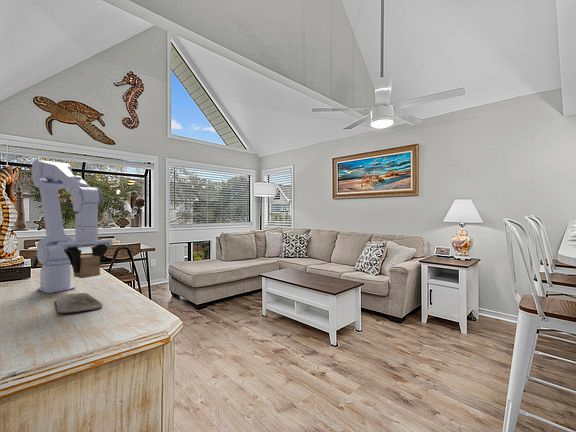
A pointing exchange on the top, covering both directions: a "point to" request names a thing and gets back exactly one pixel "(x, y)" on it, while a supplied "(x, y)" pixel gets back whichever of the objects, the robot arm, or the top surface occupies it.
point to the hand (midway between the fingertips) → (86, 270)
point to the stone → (76, 302)
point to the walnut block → (89, 266)
